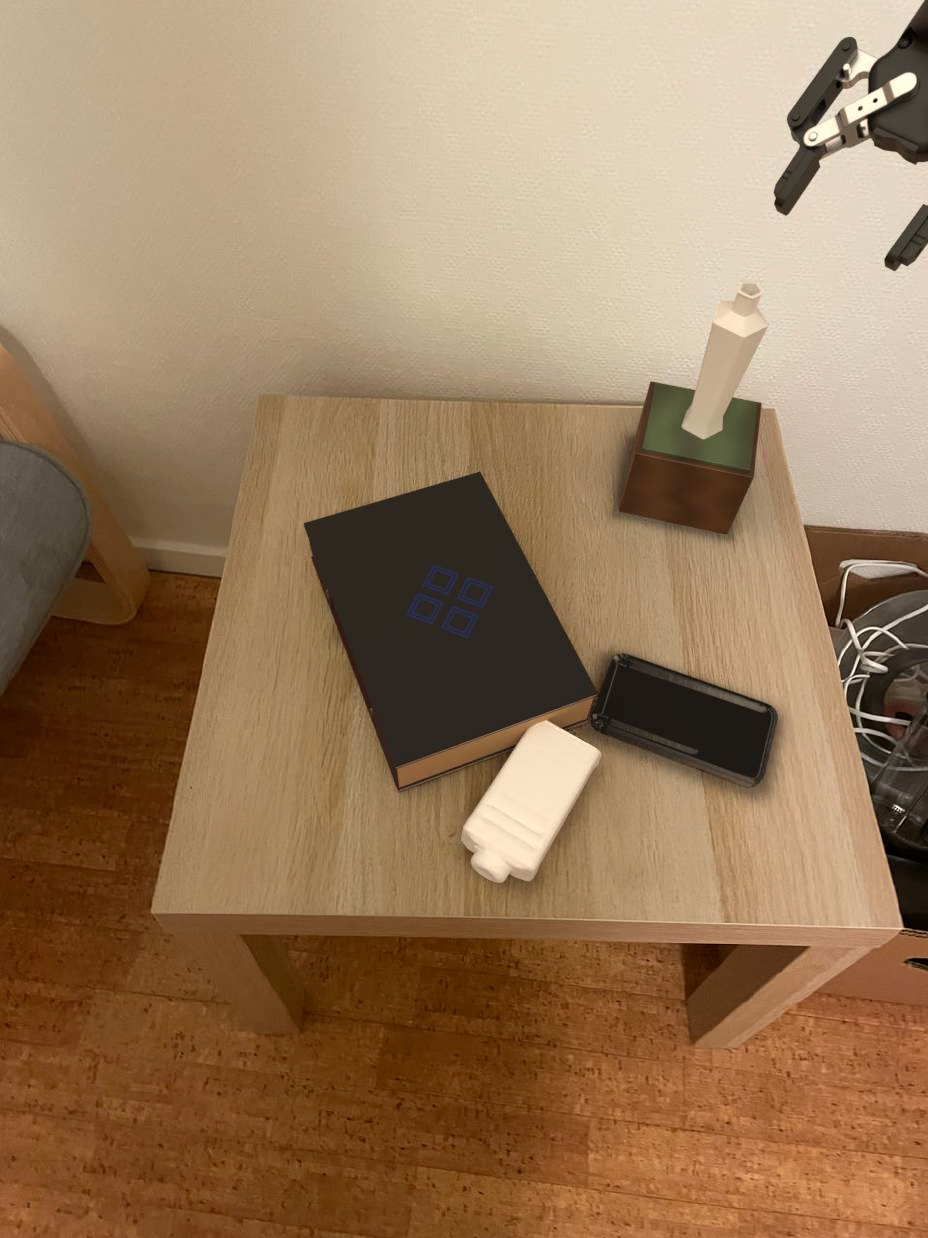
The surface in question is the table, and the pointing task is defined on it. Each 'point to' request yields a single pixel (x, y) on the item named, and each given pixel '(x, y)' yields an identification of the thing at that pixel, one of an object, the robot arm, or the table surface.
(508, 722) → the book
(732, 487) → the stand
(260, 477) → the table surface
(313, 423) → the table surface
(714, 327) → the cream faceted bottle shape
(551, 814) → the white bottle
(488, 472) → the table surface
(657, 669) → the phone
